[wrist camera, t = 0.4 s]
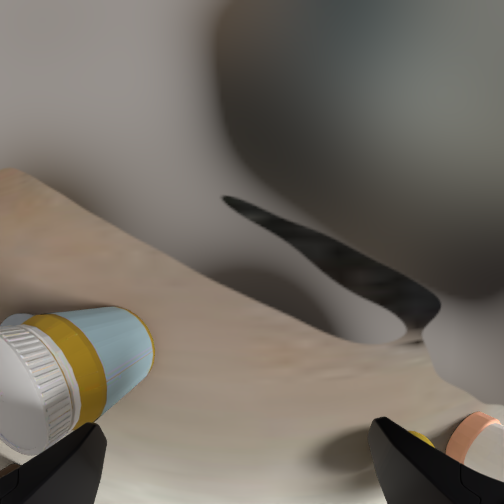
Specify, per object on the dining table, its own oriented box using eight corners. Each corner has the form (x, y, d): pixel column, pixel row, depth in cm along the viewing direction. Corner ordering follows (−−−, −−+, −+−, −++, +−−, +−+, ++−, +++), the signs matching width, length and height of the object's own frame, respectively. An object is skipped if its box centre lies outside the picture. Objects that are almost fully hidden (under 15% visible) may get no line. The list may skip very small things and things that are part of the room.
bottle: (150, 302, 23) (30, 318, 8) (163, 382, 22) (78, 478, 7) (82, 308, 22) (-47, 318, 8) (96, 381, 22) (-13, 444, 7)
